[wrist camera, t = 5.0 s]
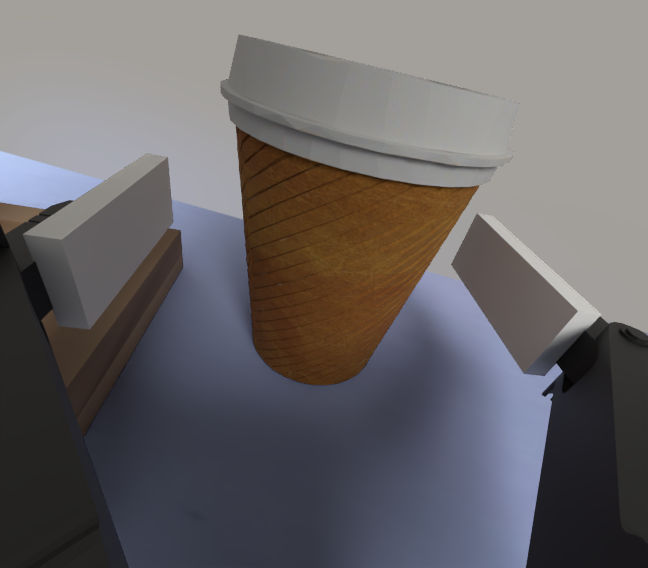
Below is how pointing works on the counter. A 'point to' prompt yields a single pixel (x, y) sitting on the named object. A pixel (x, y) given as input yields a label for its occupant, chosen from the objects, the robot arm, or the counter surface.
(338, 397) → the counter surface
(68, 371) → the tray
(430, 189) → the disposable coffee cup
